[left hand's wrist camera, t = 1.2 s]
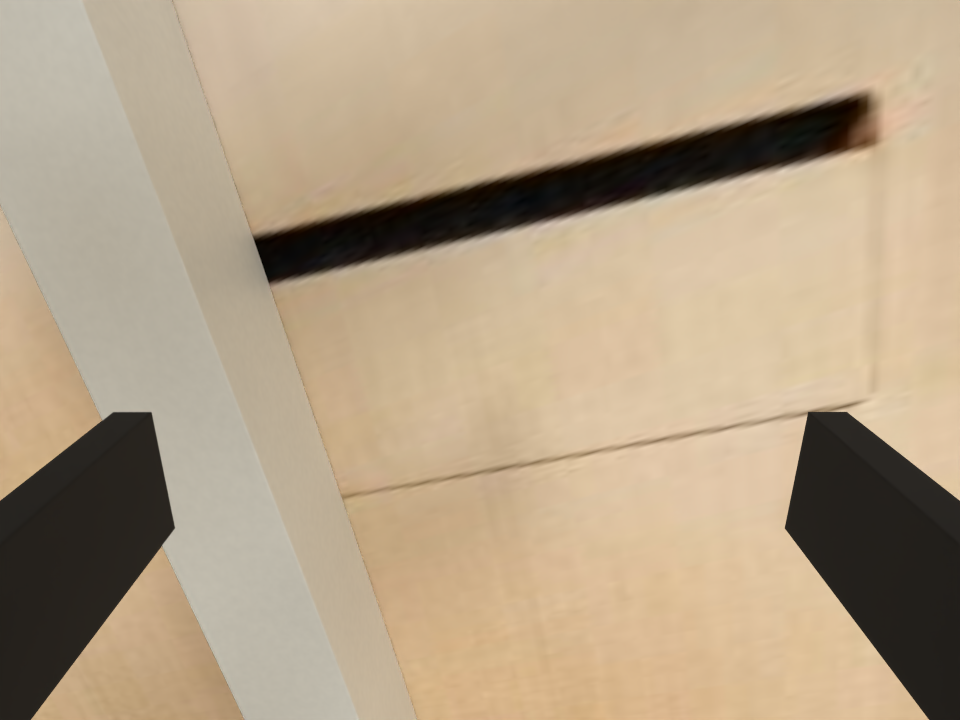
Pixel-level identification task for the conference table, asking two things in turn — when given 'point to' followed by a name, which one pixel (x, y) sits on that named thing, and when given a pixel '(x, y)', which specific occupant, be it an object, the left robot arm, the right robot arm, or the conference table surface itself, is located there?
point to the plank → (188, 348)
